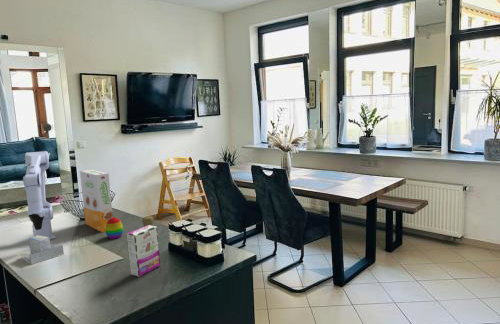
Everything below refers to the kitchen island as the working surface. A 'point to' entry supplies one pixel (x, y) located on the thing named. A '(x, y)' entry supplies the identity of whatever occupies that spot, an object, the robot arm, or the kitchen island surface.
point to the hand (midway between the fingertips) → (38, 229)
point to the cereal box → (96, 198)
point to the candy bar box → (143, 250)
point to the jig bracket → (43, 254)
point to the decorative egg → (114, 228)
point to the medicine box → (39, 243)
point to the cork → (147, 221)
